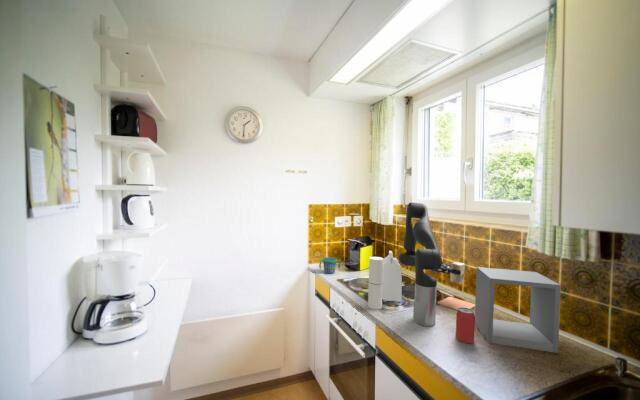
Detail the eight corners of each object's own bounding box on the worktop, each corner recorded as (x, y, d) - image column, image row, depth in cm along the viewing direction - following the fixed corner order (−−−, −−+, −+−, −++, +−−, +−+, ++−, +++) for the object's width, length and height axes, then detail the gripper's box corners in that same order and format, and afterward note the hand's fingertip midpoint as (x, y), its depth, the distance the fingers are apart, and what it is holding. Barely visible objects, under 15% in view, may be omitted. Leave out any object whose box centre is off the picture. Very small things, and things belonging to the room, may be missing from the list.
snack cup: (337, 270, 200) (338, 256, 199) (341, 274, 189) (342, 260, 189) (317, 271, 196) (318, 257, 196) (320, 275, 186) (321, 261, 186)
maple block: (464, 282, 140) (465, 263, 140) (459, 284, 137) (460, 265, 137) (454, 279, 144) (455, 261, 144) (450, 281, 141) (451, 263, 141)
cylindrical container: (365, 306, 136) (366, 258, 135) (372, 302, 141) (374, 255, 141) (377, 310, 131) (379, 260, 130) (384, 306, 136) (386, 258, 136)
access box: (557, 352, 99) (560, 285, 98) (487, 342, 105) (490, 278, 104) (533, 330, 115) (536, 272, 115) (474, 321, 122) (476, 266, 121)
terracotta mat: (464, 312, 131) (464, 311, 131) (437, 303, 142) (437, 302, 142) (476, 306, 140) (476, 304, 140) (449, 297, 151) (449, 296, 151)
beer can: (472, 337, 108) (473, 308, 108) (475, 345, 102) (477, 315, 102) (454, 334, 110) (455, 305, 110) (456, 342, 104) (458, 312, 104)
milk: (378, 292, 155) (379, 249, 154) (398, 294, 153) (399, 250, 153) (379, 301, 143) (381, 253, 143) (401, 302, 142) (403, 254, 141)
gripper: (425, 259, 147) (457, 267, 134) (438, 256, 156) (469, 263, 143) (425, 273, 148) (456, 281, 134) (438, 268, 156) (468, 276, 143)
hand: (462, 272), depth 139 cm, fingers closed on maple block, 5 cm apart
